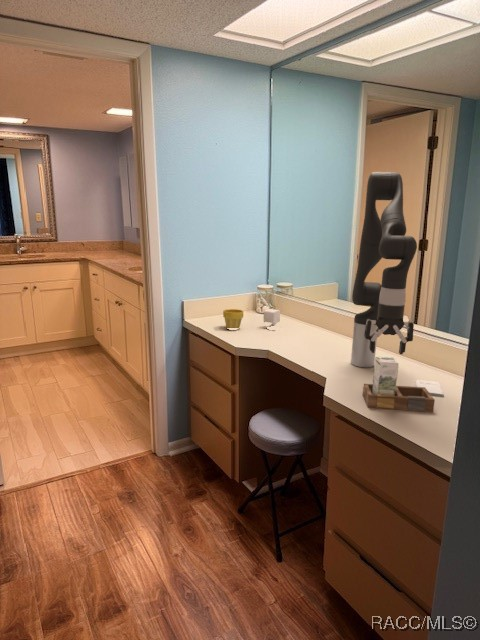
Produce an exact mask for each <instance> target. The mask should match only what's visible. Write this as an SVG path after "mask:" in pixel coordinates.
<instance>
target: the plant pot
mask: <svg viewBox="0 0 480 640" xmlns="http://www.w3.org/2000/svg"><path fill="white" fill-rule="evenodd" d="M222 316H223V318H224V322H225V328H226V327H227V328H239V327H240V328H241V325H242V320H243V318H244V310H242V309H237V308H230V309H229V308H227V309H224V310H223V313H222ZM240 328H239V329H240Z"/></svg>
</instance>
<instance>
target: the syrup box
mask: <svg viewBox="0 0 480 640" xmlns="http://www.w3.org/2000/svg"><path fill="white" fill-rule="evenodd" d="M399 364H400V363H399V362H398V361H397V360H396V359H395V358H394V357H392V356H389V357H388V356H375V362H374V366H373V374H372V375H373V376H372V383H371V384H372V394H375V395H377V394H389V395H394V396H395V390H396V386H397V382H398V381H397V379H398V372H399Z"/></svg>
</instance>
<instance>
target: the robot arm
mask: <svg viewBox="0 0 480 640" xmlns="http://www.w3.org/2000/svg"><path fill="white" fill-rule="evenodd" d="M402 177H403V176H402V175H401V174H400V173H399V172H396V171H395V172H394V171H373V172H371V173H370V175H369V176H368V180H367V185H366V196H365V207H364V208H365V209H364V219H363V225H362V231H361V237H360V242H359V243H360V244H359V250H358V251H359V253H358V261H357V268H356V274H355V279H354V283H353V289H352V296H351V298H352V303H353V304H354V305H355V306H362V307H363V306H364V307H369V308H368V309H366V310H364V311H362V312H359V313H357V314H355V315H354V320H353V321H354V322H353V334H352V345H351V355H350V356H351V357H350V364H351V365H352V366H355V367H358V368H372V367H373V368H374V364H375V357H376V350H377V340H378V338H379V337H380V336H381V335H382V334H383V335H384V336H385V335H386V336H387V335H389V336H390V335H391V336H395V335H397V336H398V338H399V339H400V341H399V348H398V354H399V355H403V354H404V353H405V352H406V347H407V343H408V342H413V340H414V329H415V328H414V325H415V324H414V322H413V321H412V320H408V321H404V316H405V315H404V314H405V307H406V306H405V305H406V301H407V300H406V294H407V293H406V291H407V290H406V288H407V279H408V273H409V270H410V268H411V264H412V262H413V261H414V257H415V254H416V252H417V248H418V243H417V240H416V239H415V237H414V236H413V235H412V236H411V235H406V233H407V224H406V219H405V216H404V187H403V185H404V183H403V178H402ZM377 201H390V202H389V203H388V205H386V207H385V208H384V209H383V211H382V213H381V216H379V213H378V210H377V206H376V202H377ZM382 259H385V260H397V261H399V260H400V261H399V263H398V264H397V265H394V266H390V267H385V268H384V269H383V270H382V275H381V283H380V282H371V281H370V282H368V281H366V279H367V277H368V276H369V273H370V272H371V271H373V269H374V268H375V267H376V266H377V264H379V262H380V261H381V260H382ZM403 327H405V328H406V336H405V335H403V333H402V331H401V330H402V329H403Z"/></svg>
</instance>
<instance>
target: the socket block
mask: <svg viewBox="0 0 480 640" xmlns="http://www.w3.org/2000/svg"><path fill="white" fill-rule="evenodd" d="M372 384H373V383H363V387H362V397H363V400H364V402H365V405H366V407H367V409H368V408H370V409H380V410H381V409H384V410H399V411H411V412H413V411H414V412H427V413H434V408H435V400H436V399H435V398H434V397H433V396H431V394H430V393H429V392H428V391H427V389H426V388H425V387H416V386H409V385H407V386H405V385H396V390H395V396H394V395H389V394H377V395H375V394H372Z"/></svg>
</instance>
